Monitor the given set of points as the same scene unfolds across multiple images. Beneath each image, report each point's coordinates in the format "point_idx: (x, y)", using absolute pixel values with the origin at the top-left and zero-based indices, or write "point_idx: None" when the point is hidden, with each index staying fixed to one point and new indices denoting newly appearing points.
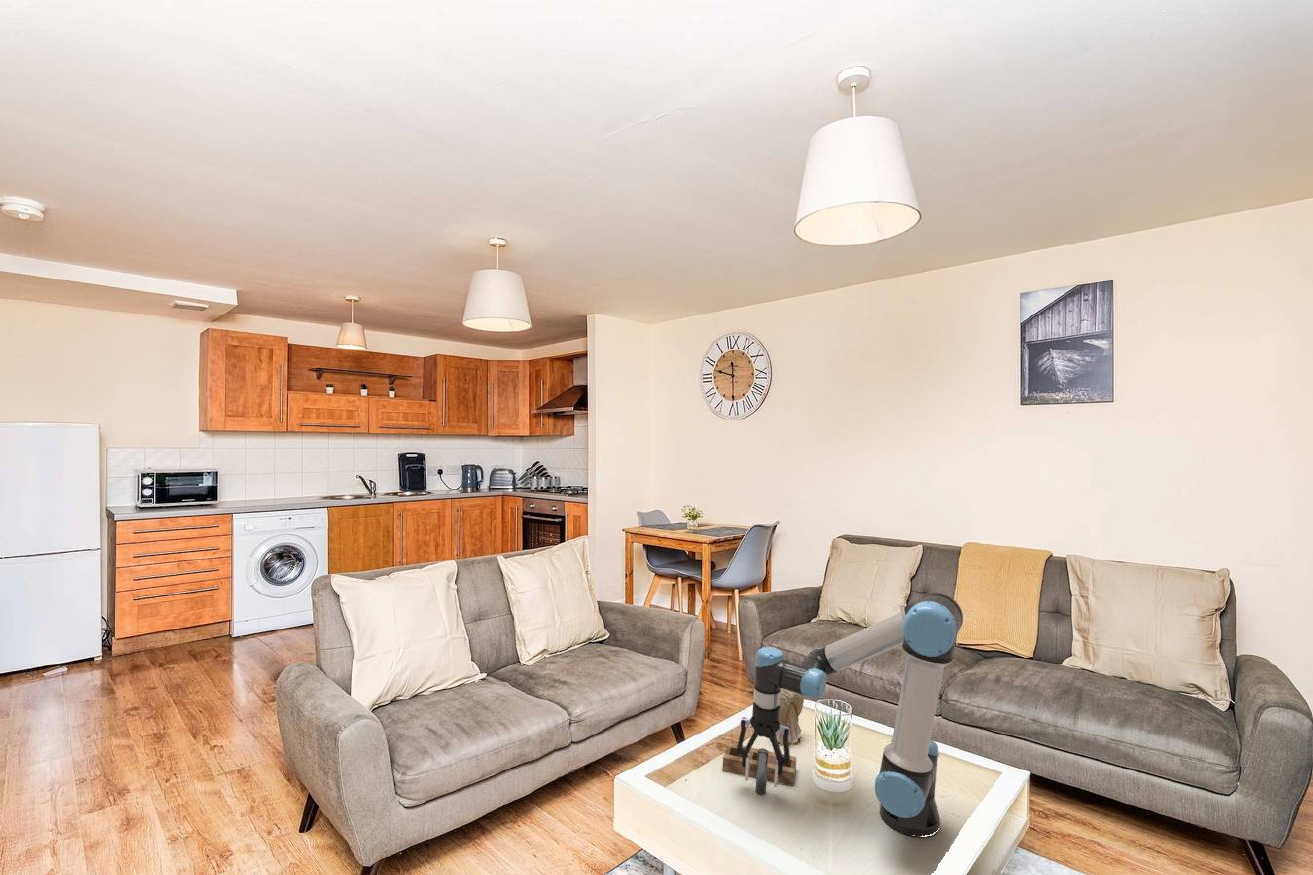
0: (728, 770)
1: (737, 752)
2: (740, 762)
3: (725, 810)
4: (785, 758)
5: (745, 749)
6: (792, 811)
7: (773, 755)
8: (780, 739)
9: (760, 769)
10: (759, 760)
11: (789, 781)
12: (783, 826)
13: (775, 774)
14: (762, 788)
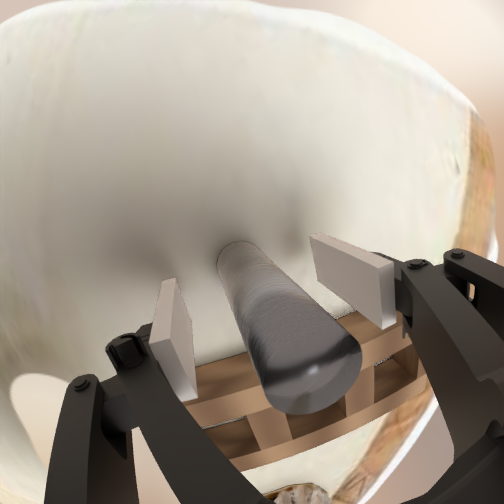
0: None
1: (456, 249)
2: (375, 333)
3: (306, 63)
4: (85, 400)
5: (445, 279)
6: (75, 224)
7: (275, 448)
8: (289, 497)
9: (270, 276)
10: (304, 297)
11: None
12: (72, 108)
13: (168, 305)
14: (229, 253)
